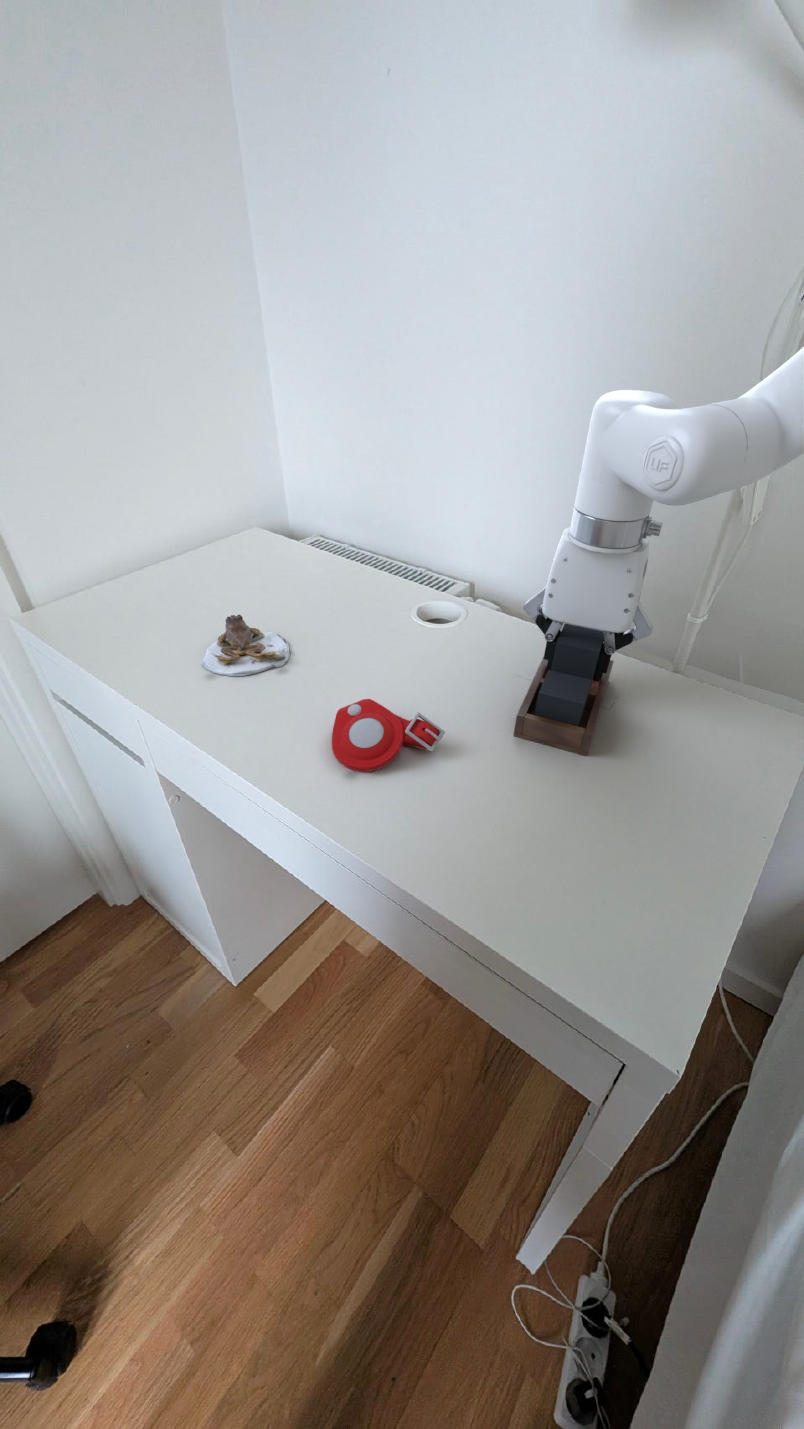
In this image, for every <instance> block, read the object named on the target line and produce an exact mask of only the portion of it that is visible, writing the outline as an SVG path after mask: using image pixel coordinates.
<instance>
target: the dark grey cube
mask: <svg viewBox="0 0 804 1429" xmlns="http://www.w3.org/2000/svg"><path fill="white" fill-rule="evenodd" d="M591 682H592V680H590V679H586V678H581V677H577V676H573V675H569V674H564V673H560V672H556V671H551V670H548V673H547V675H546V677H545V680H544V682H543V684H542V687H541V689H540V691H539V694H538V699H537V705H536V710H535V715H536V716H540V717H543V718H547V719H551V720H555V721H559V722H563V723H566V724H570V725H574V726H578V727H579V726H580V723H581V720H582V717H583V713H584V709H585V706H586V702H587V698H588V694H589V690H590V686H591Z"/></svg>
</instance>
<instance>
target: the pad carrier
mask: <svg viewBox="0 0 804 1429" xmlns="http://www.w3.org/2000/svg"><path fill="white" fill-rule="evenodd" d="M614 662H615V661H614V660H611V659H610V662H609V666H608V670H607V673H602V672H601V673H600V676H599V679H598V682H597V681H594V680H593V681H592V684H591V687H590V690H589V694H588V698H587V702H586V706H585V709H584V713H583V717H582V720H581V723H580V726H579V727H578V726H574V725H570V724H566V723H563V722H559V721H555V720H551V719H547V718H543V717H540V716H536V715H535V710H536V705H537V699H538V694H539V691H540V689H541V687H542V684H543V682H544V680H545V677H546V675H547V673H548V670H547V664H548V660H545V659H544V656H542V659H541V662H540V664H539V665H538V668H537V670H536V672H535V675H534V676H533V679H532V681H531V683H530V685H529V687H528V690H527V692H526V695H525V696H524V698H523V701H522V703H521V705H520V707H519V710H518V712H517V714H516V718H515V724H514V729H513V730H514V731H513V737H516V738H520V739H522V740H527V741H530V742H534V743H537V744H541V745H545V746H549V747H553V748H556V749H560V750H563V751H567V752H570V753H574V754H577V755H581V756H585V757H587V756H588V755H589V751H590V747H591V744H592V740H593V736H594V734H595V729H596V726H597V722H598V718H599V716H600V711H601V707H602V704H603V701H604V697H605V694H606V690H607V687H608V684H609V679H610V675H611V672H612V668H613V665H614Z"/></svg>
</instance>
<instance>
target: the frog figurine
mask: <svg viewBox="0 0 804 1429" xmlns="http://www.w3.org/2000/svg"><path fill="white" fill-rule="evenodd" d="M290 656H291V653H290V645H289V644H288V641H287V640H286V639H285V638H284V637H282V636H281V635H280V634H279V633H275V632H271V631H264V630H260V629H259V628H255V627H250V626H249V625H247V624H246V621H245V620H244V617H243V615H242V614H237V615H235V614H231V615H230V616H226V618H225V632H224V633H223V634H221V635H219V636H218V637H217V639H216V640H215V641H213V643H212V644H211V645H210V646H209V647H207V648H206V652H205V655H204V656H203V660H202V663H201V666H203V668H204V669H205V670H207V671H209V672H212V673H213V674H216V675H220V676H225V677H226V676H227V677H245V676H250V675H255V674H259V673H262V672H266V671H267V670H270V669H273V668H275V669H276V668H277V669H278V668H282V667H284V666H285V664H286V663H287V662H288V661H289V659H290Z"/></svg>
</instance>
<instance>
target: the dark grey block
mask: <svg viewBox="0 0 804 1429" xmlns="http://www.w3.org/2000/svg"><path fill="white" fill-rule="evenodd" d="M560 631H561V633H560V636H559V638H558V640H557V642H556V647H555V652H554V657H553V662H552V667H551V671H556V672H560V673H564V674H569V675H573V676H577V677H581V678H586V679H590V680H592V681H593V677H594V673H595V669H596V666H597V662H598V658H599V654H600V651H601V648H602V645H603V643H604V638H603V631H601V630H597V629H592V628H587V627H582V626H577V625H572V624H568V623H563V627H562V628H561V630H560ZM591 684H592V682H591ZM590 687H591V686H590Z"/></svg>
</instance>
